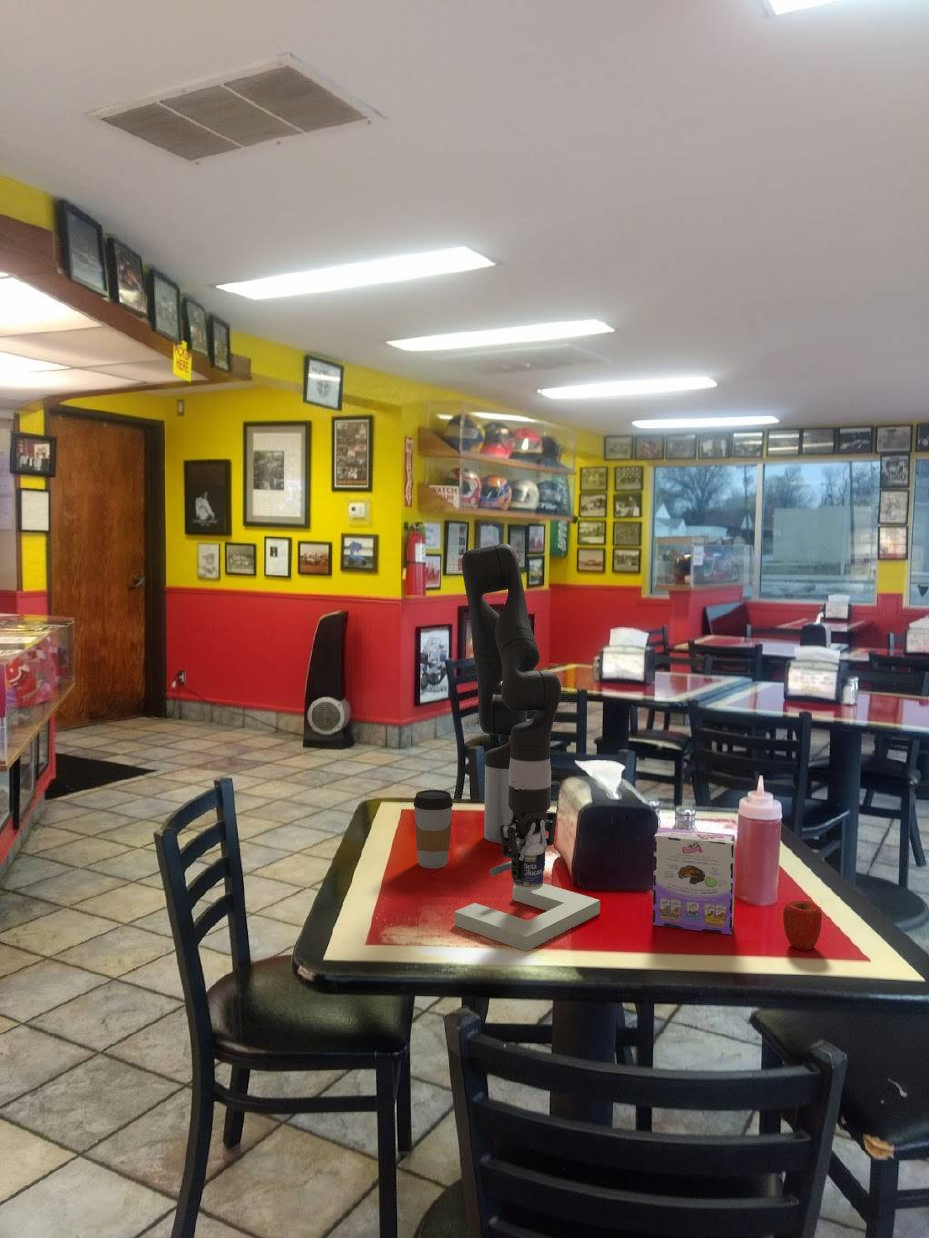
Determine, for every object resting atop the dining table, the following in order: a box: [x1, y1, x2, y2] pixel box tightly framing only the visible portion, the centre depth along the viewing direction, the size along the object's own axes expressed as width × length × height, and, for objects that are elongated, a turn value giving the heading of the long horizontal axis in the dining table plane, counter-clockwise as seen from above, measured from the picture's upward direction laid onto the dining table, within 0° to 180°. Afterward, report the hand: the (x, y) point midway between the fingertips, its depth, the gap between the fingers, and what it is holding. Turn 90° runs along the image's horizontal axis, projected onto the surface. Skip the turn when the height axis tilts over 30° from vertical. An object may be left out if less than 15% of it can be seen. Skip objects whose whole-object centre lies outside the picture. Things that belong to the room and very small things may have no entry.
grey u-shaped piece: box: [453, 860, 601, 952], centre depth 167 cm, size 22×16×9 cm
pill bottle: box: [512, 832, 544, 890], centre depth 167 cm, size 5×5×10 cm
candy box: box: [651, 827, 736, 935], centre depth 166 cm, size 14×6×16 cm, turn 71°
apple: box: [782, 900, 823, 951], centre depth 157 cm, size 6×6×8 cm
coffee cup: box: [413, 789, 454, 869], centre depth 196 cm, size 8×8×15 cm
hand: (528, 874), depth 167 cm, fingers closed on pill bottle, 5 cm apart
